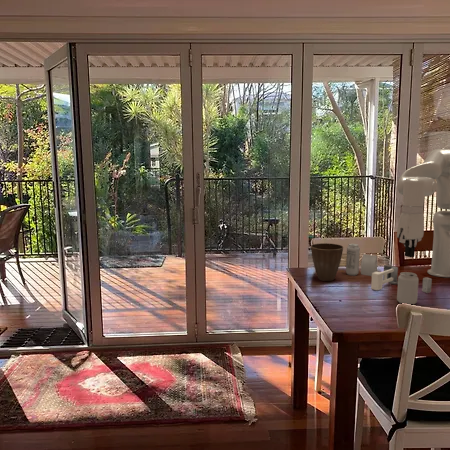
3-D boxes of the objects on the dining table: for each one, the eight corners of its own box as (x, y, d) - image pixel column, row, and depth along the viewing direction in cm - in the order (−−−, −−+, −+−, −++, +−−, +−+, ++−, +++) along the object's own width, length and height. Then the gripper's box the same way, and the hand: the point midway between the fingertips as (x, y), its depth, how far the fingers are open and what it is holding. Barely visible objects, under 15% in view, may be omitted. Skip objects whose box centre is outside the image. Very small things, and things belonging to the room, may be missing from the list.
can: (418, 306, 168) (421, 276, 166) (398, 305, 170) (400, 275, 168) (414, 300, 175) (416, 271, 173) (395, 299, 177) (396, 270, 175)
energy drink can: (361, 274, 212) (362, 245, 210) (352, 276, 209) (353, 246, 207) (351, 272, 218) (353, 243, 215) (343, 273, 215) (344, 244, 212)
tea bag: (374, 276, 209) (375, 256, 208) (360, 274, 214) (361, 254, 212) (376, 275, 212) (377, 255, 210) (363, 272, 216) (364, 253, 215)
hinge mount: (388, 279, 204) (389, 264, 203) (400, 283, 197) (401, 267, 196) (381, 280, 202) (382, 265, 201) (393, 285, 196) (394, 269, 194)
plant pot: (307, 281, 201) (308, 248, 198) (312, 273, 215) (313, 242, 212) (340, 284, 196) (342, 250, 194) (342, 276, 210) (344, 244, 208)
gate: (398, 282, 198) (399, 267, 197) (377, 290, 187) (378, 274, 186) (392, 281, 200) (393, 266, 199) (371, 288, 189) (371, 273, 188)
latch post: (426, 290, 187) (427, 277, 186) (430, 292, 185) (431, 278, 184) (422, 291, 186) (423, 278, 185) (426, 292, 184) (427, 279, 183)
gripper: (418, 208, 173) (415, 252, 176) (390, 210, 166) (387, 256, 169) (434, 210, 166) (430, 256, 169) (406, 212, 160) (403, 260, 163)
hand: (409, 256), depth 169 cm, fingers closed
